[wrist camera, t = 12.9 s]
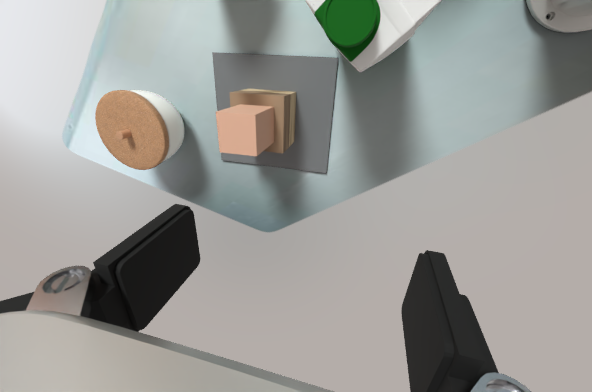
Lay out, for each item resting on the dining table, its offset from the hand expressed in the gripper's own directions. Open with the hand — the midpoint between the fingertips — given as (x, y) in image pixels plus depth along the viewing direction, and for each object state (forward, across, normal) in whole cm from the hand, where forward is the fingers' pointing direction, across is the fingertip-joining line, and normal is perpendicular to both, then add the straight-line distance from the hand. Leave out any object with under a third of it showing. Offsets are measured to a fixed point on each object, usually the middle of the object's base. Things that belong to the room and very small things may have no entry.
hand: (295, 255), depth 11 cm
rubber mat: (+36, +13, +2) cm, 38 cm away
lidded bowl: (+36, +34, +5) cm, 49 cm away
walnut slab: (+32, +13, +2) cm, 34 cm away
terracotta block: (+28, +13, +2) cm, 31 cm away
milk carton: (+36, -1, -12) cm, 38 cm away
